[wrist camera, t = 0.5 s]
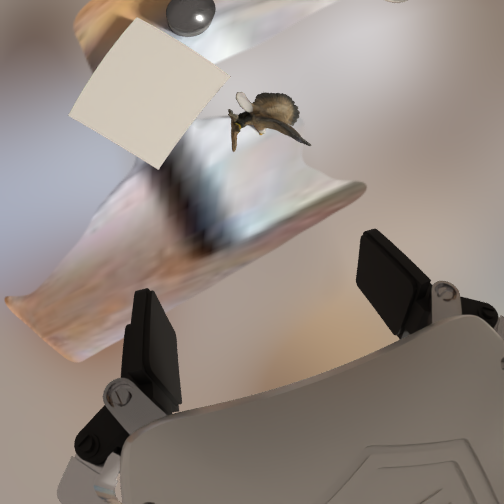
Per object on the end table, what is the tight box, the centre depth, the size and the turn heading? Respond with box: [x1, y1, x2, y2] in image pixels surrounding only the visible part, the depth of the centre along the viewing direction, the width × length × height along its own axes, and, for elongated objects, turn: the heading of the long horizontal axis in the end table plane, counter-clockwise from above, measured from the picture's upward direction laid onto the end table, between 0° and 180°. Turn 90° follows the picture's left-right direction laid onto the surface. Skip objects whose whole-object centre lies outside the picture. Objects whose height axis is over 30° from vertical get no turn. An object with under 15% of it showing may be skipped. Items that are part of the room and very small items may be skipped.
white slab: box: [69, 18, 231, 169], centre depth 24 cm, size 13×13×3 cm
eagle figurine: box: [228, 92, 311, 152], centre depth 28 cm, size 8×7×9 cm
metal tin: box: [166, 0, 215, 37], centre depth 20 cm, size 5×5×4 cm
